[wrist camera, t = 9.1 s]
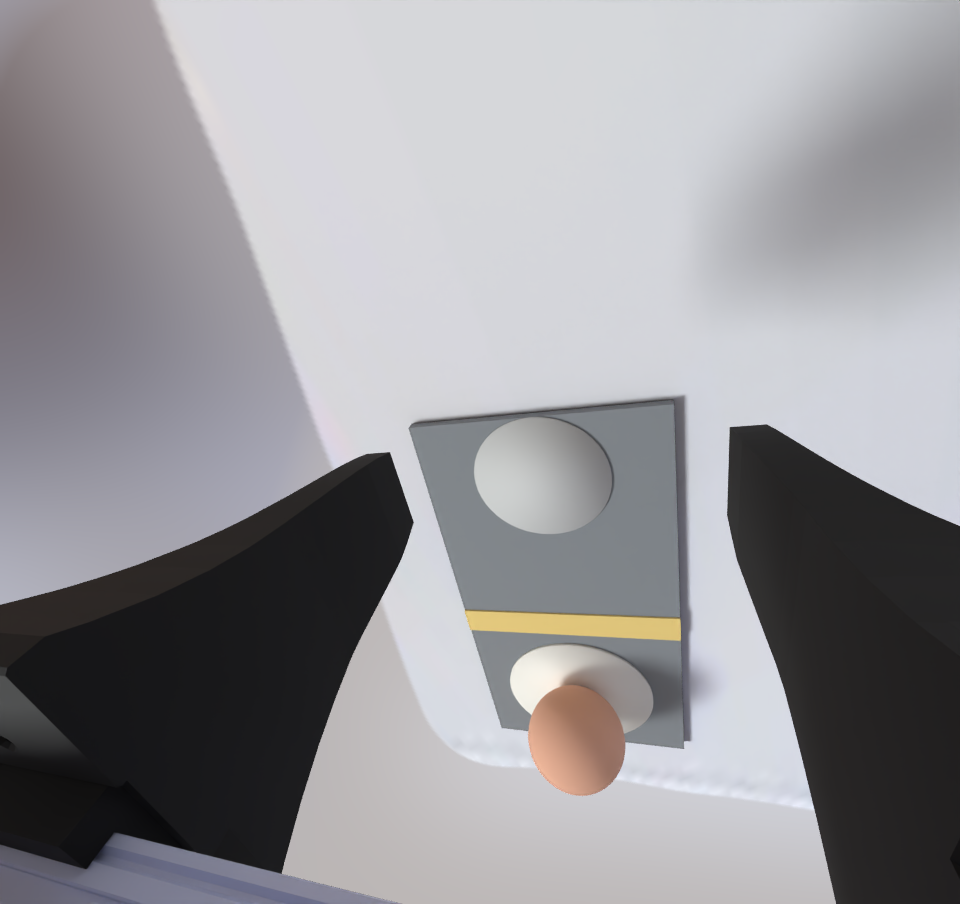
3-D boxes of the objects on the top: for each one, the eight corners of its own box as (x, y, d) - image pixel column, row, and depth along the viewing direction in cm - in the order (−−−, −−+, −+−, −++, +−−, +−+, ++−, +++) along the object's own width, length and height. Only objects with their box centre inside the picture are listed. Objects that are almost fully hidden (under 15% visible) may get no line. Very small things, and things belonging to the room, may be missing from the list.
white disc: (684, 691, 26) (685, 694, 26) (601, 749, 30) (601, 753, 30) (552, 621, 25) (552, 624, 25) (488, 690, 30) (487, 693, 30)
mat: (683, 742, 28) (684, 750, 28) (503, 721, 32) (501, 729, 31) (673, 399, 18) (674, 405, 18) (411, 424, 22) (407, 429, 21)
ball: (643, 694, 26) (648, 794, 22) (593, 731, 29) (589, 827, 25) (562, 652, 26) (552, 745, 22) (520, 693, 29) (504, 783, 25)
